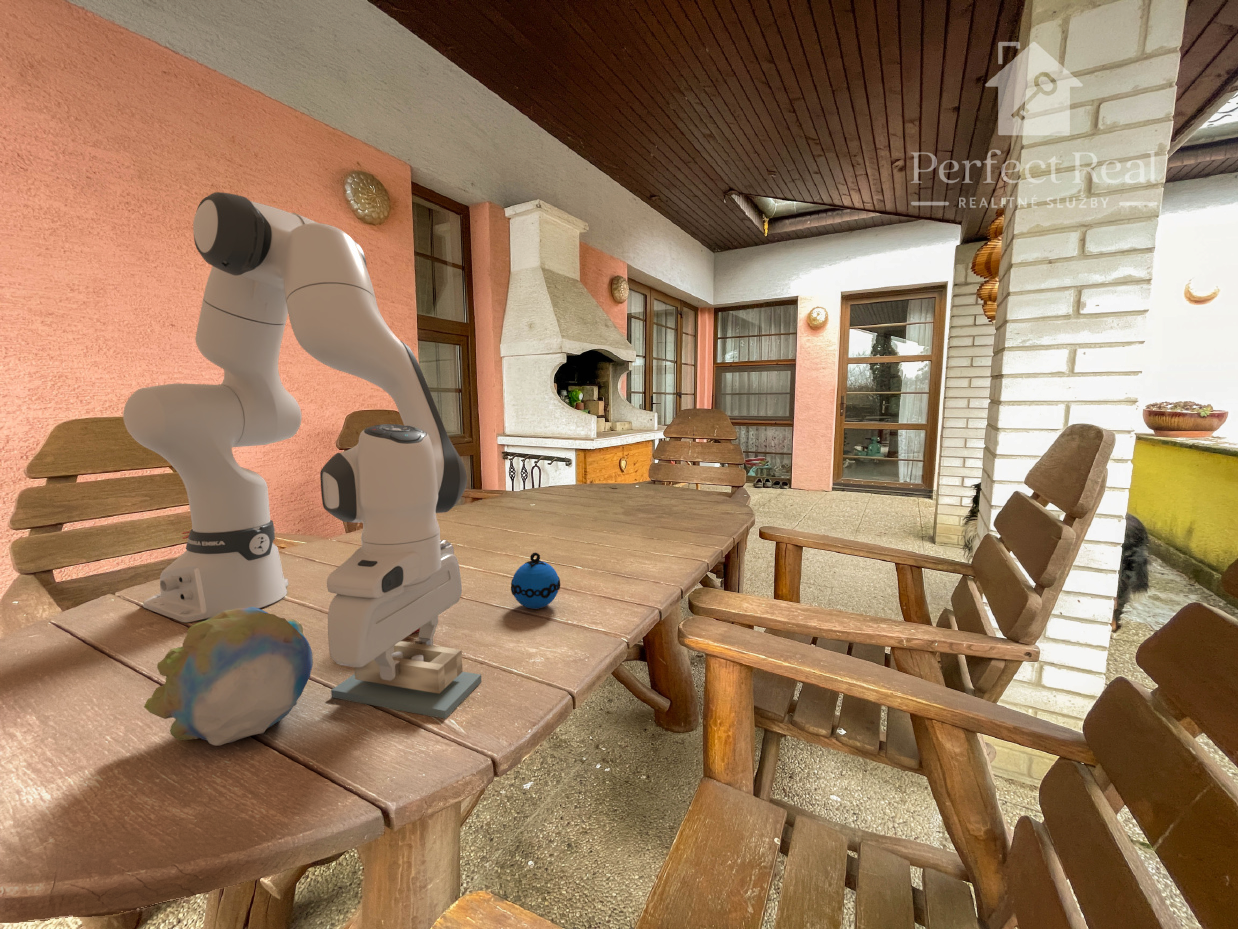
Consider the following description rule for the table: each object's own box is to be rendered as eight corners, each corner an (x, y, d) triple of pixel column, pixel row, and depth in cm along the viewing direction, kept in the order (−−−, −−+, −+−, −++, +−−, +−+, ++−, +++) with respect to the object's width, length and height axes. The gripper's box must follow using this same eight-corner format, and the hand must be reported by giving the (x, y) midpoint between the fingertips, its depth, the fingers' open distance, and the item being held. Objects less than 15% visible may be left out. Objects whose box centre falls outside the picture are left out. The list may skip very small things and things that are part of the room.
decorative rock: (247, 615, 49) (309, 570, 64) (67, 678, 46) (175, 616, 61) (302, 737, 51) (350, 667, 66) (133, 804, 48) (222, 715, 63)
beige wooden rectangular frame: (355, 679, 62) (353, 656, 62) (383, 659, 67) (382, 638, 67) (439, 693, 59) (438, 669, 59) (462, 671, 64) (461, 649, 64)
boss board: (331, 697, 62) (329, 663, 61) (378, 664, 69) (376, 634, 69) (445, 718, 58) (444, 682, 57) (481, 681, 65) (480, 649, 65)
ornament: (522, 621, 83) (521, 563, 82) (504, 604, 90) (503, 550, 89) (568, 610, 88) (568, 555, 87) (548, 594, 95) (547, 543, 94)
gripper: (432, 534, 72) (436, 625, 74) (313, 583, 52) (322, 706, 54) (471, 537, 71) (474, 630, 72) (363, 589, 51) (371, 715, 53)
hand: (408, 663), depth 63 cm, fingers closed on beige wooden rectangular frame, 5 cm apart
